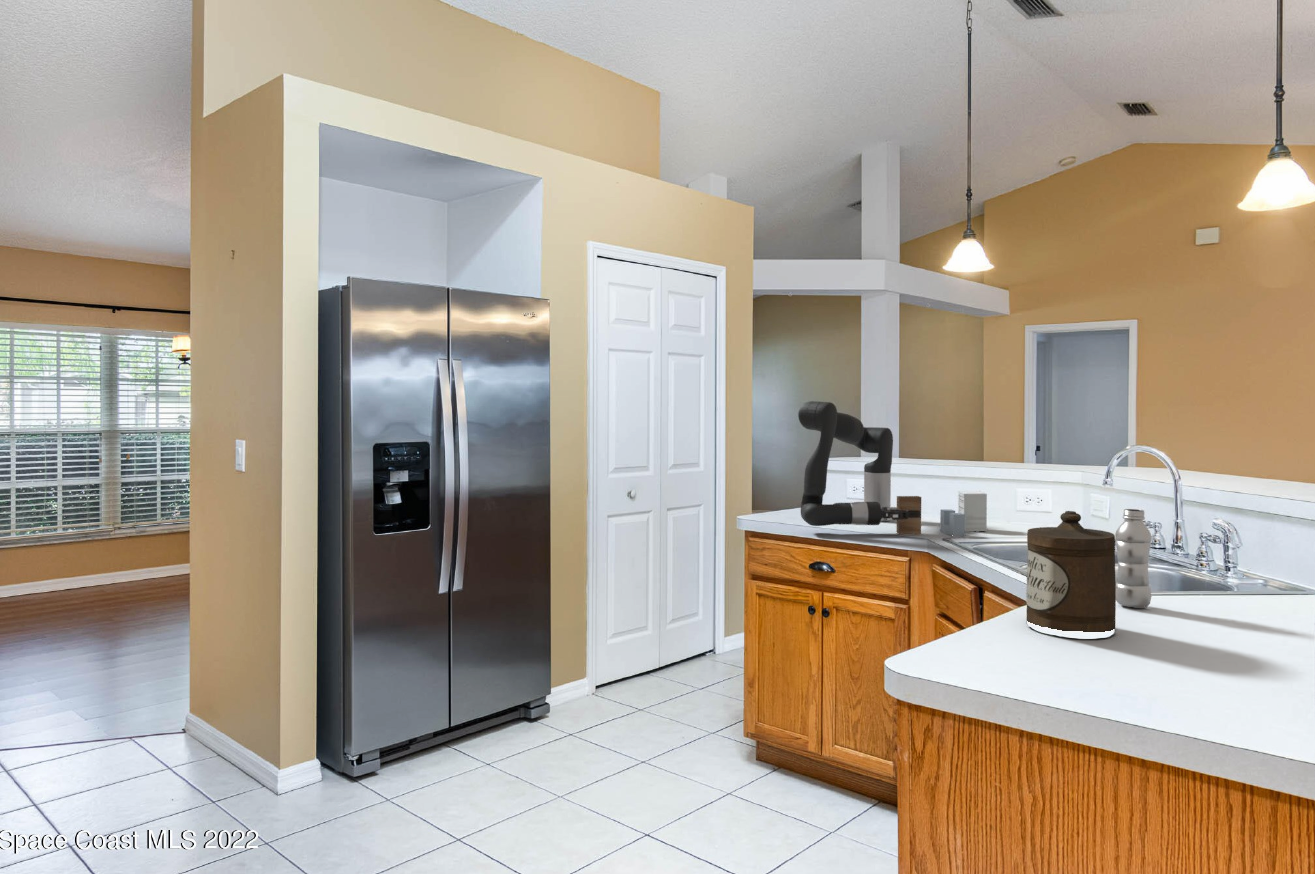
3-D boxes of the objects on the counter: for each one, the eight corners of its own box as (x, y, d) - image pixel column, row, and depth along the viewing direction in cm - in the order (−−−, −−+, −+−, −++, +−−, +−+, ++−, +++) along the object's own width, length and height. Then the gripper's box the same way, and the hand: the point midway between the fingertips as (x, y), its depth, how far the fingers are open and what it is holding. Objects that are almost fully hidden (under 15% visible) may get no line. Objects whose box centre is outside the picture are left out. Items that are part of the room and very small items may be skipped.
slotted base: (940, 530, 272) (940, 509, 271) (951, 530, 272) (951, 509, 271) (953, 536, 260) (953, 514, 259) (964, 536, 260) (964, 514, 259)
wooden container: (1013, 618, 161) (1014, 506, 160) (1090, 619, 161) (1092, 506, 160) (1046, 640, 146) (1048, 516, 146) (1131, 640, 146) (1134, 516, 145)
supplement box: (980, 528, 276) (980, 490, 275) (986, 532, 269) (987, 493, 268) (957, 528, 277) (957, 490, 276) (963, 531, 269) (963, 493, 269)
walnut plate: (896, 533, 267) (896, 496, 267) (918, 532, 267) (918, 495, 267) (899, 534, 264) (899, 497, 264) (921, 534, 264) (921, 497, 264)
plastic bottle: (1138, 612, 165) (1140, 512, 164) (1106, 605, 171) (1108, 509, 170) (1158, 608, 168) (1160, 510, 167) (1126, 601, 174) (1128, 507, 173)
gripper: (869, 504, 258) (925, 504, 258) (859, 499, 272) (911, 498, 272) (869, 528, 259) (925, 528, 259) (858, 521, 273) (911, 521, 273)
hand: (917, 513), depth 265 cm, fingers closed on walnut plate, 3 cm apart
